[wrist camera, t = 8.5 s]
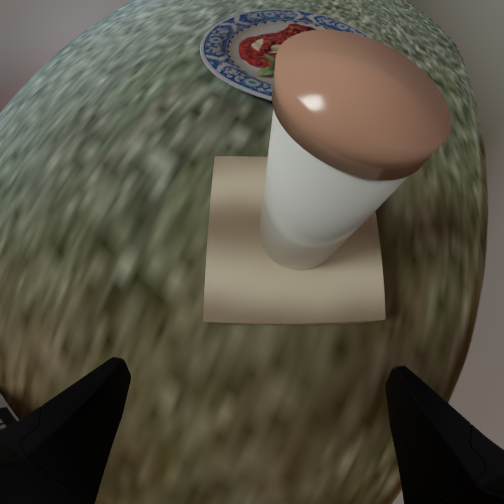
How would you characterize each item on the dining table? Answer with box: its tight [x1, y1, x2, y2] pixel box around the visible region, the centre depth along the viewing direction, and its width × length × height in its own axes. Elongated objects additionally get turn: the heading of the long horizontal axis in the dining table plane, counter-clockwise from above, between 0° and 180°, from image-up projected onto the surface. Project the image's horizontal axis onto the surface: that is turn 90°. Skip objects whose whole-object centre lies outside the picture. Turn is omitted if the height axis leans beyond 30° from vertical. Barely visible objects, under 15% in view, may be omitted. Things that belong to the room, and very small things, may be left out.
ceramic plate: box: [200, 9, 374, 101], centre depth 28 cm, size 26×26×3 cm
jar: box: [259, 30, 451, 271], centre depth 12 cm, size 5×5×13 cm
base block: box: [203, 156, 386, 325], centre depth 20 cm, size 12×12×3 cm
